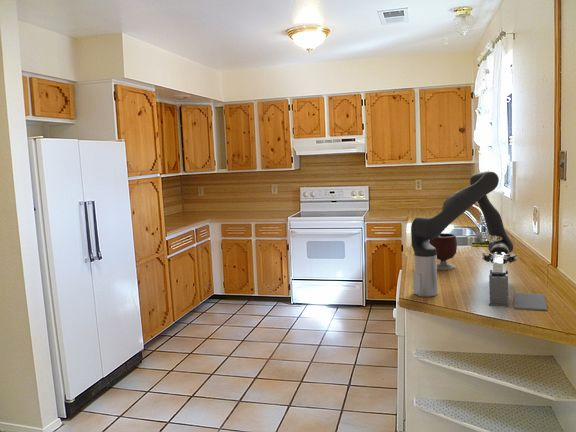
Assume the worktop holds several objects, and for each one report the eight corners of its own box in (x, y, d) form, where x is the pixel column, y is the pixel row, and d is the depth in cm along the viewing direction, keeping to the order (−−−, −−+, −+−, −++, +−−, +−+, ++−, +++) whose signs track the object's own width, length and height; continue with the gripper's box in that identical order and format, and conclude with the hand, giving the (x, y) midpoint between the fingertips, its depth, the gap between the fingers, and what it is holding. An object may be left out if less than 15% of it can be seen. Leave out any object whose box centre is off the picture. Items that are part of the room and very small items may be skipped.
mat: (514, 293, 206) (514, 292, 206) (543, 295, 202) (543, 294, 202) (514, 308, 187) (514, 307, 187) (547, 310, 183) (547, 309, 183)
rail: (494, 262, 206) (494, 254, 206) (503, 262, 205) (503, 254, 205) (492, 272, 190) (492, 263, 190) (502, 272, 189) (502, 263, 188)
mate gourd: (438, 263, 272) (437, 227, 270) (462, 266, 262) (461, 228, 260) (423, 268, 261) (422, 231, 259) (447, 271, 251) (446, 232, 249)
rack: (490, 297, 203) (489, 269, 202) (508, 299, 200) (508, 270, 199) (488, 305, 193) (488, 275, 192) (508, 306, 190) (508, 276, 189)
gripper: (482, 244, 218) (479, 251, 203) (517, 245, 212) (518, 252, 197) (482, 261, 219) (480, 269, 204) (517, 262, 213) (517, 271, 198)
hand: (498, 261), depth 200 cm, fingers closed on rail, 3 cm apart
